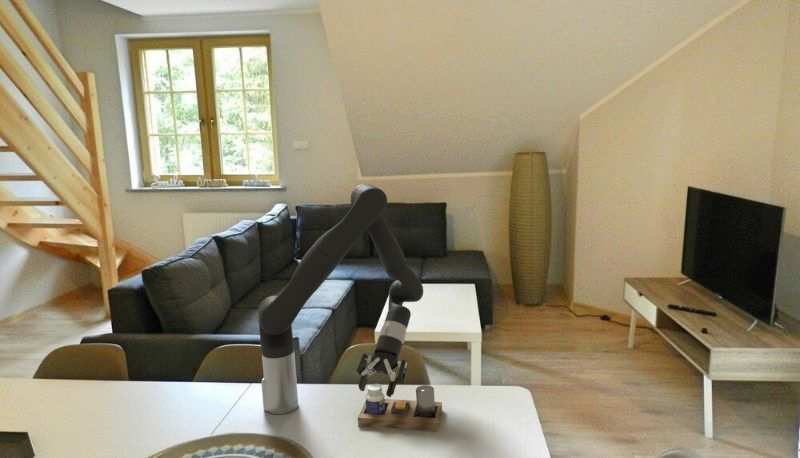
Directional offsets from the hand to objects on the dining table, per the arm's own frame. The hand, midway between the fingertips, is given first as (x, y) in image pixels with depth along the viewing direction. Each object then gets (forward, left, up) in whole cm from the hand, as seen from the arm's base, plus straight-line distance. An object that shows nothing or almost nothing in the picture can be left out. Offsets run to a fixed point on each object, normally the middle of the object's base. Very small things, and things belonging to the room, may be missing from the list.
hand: (374, 393), depth 150 cm
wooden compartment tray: (+7, 0, -7) cm, 10 cm away
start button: (+7, 0, -4) cm, 8 cm away
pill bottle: (0, 0, -7) cm, 7 cm away
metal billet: (+15, 0, -7) cm, 16 cm away
